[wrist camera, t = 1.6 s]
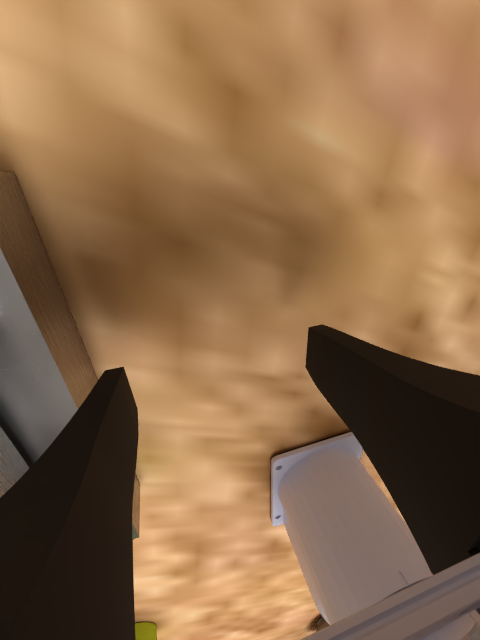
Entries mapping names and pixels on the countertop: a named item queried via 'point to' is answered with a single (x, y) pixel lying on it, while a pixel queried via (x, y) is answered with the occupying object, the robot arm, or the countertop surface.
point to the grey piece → (37, 339)
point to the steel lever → (9, 464)
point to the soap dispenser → (145, 631)
